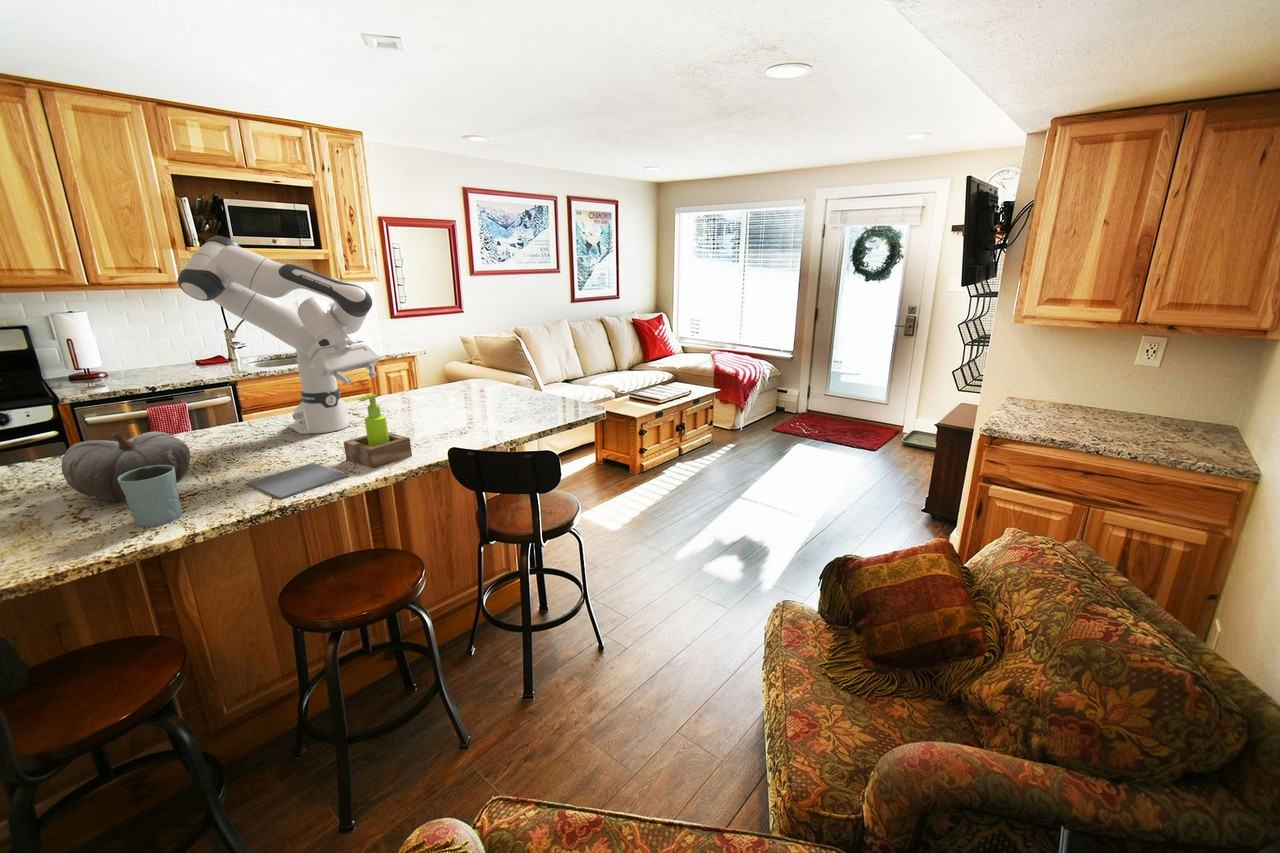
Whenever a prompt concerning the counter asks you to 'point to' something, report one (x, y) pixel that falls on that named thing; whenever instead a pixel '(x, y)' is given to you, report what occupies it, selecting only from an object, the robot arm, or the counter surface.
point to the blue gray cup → (152, 494)
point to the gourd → (120, 462)
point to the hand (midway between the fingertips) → (361, 380)
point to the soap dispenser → (375, 423)
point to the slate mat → (296, 480)
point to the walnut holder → (377, 451)
